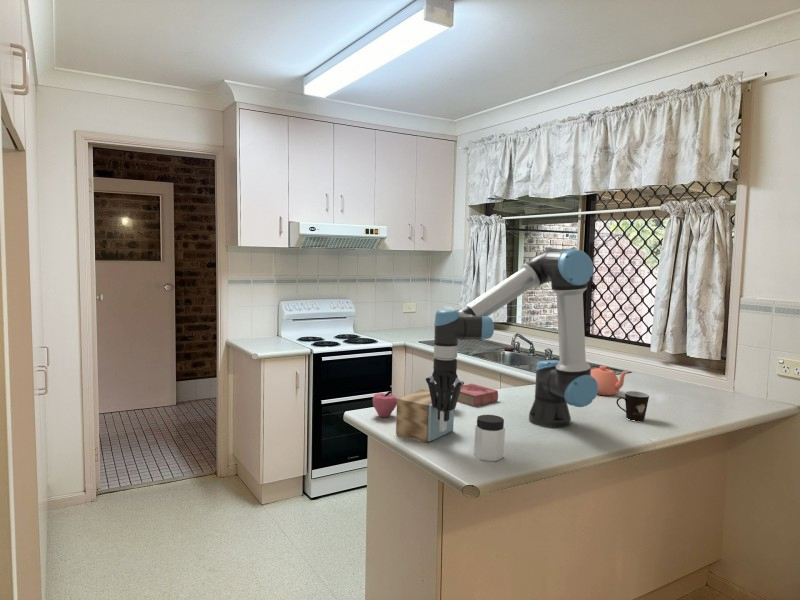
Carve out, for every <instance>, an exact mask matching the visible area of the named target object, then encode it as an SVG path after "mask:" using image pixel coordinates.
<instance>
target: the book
mask: <svg viewBox="0 0 800 600" xmlns="http://www.w3.org/2000/svg"><path fill="white" fill-rule="evenodd" d="M498 399H499V393H498V390H497V389H493V388H489V387H485V386H482V385H478V384H475V383H468V384H464V385H463V386H462V387H461V390H460V393H459V397H458V400H457V403H460V404H464V405H466V406H470V407H473V408H476V407H480V406H484V405H488V404H493V403H496V402H498Z"/></svg>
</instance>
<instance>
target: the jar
mask: <svg viewBox="0 0 800 600" xmlns="http://www.w3.org/2000/svg"><path fill="white" fill-rule="evenodd" d="M504 424H505V419H504V418H503V417H502V416H499V415H494V414H481V415H479V416H477V418H476V425H474V426H475V427H474V428H475V429H474V445H473V446H474V447H473V448H474V451H473V455H474V456H475V457H477V458H478V459H479V460H480V461H487V462H498V461H500V460H502V459H503V458H504V455H505V453H504V452H505V437H506V434H505V433H506V427H504V426H505V425H504Z"/></svg>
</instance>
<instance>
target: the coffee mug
mask: <svg viewBox="0 0 800 600" xmlns="http://www.w3.org/2000/svg"><path fill="white" fill-rule="evenodd" d="M649 398H650V394H649V393H646V392H642V391H635V390H628V391H625V392H624V396H620V397H618V398H617V399H616V405H617V407H618V408H619V409H621V410H622V411H623V412H625V416H626V417H625V419H626V418H628V419H630V420H635V421H643V420H644V421H645V418H646V413H647V409H648V404H649ZM621 399H622V400H624V401H625V403H624V404H625V408H623V407H622V406H621V405H620V404H619V401H620V400H621ZM630 420H629V421H630ZM644 421H643V422H644Z"/></svg>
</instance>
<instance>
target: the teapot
mask: <svg viewBox="0 0 800 600" xmlns="http://www.w3.org/2000/svg"><path fill="white" fill-rule="evenodd" d="M628 373H629V371H623V372H621V373H620V375H619V379H618V376H617V375H616V372H615V371H614V370H612V369H609V368H607V366H606V365H599V367H596V368H595V367H594V368H592V369H591V376H592V377H593V378H594V379H595V380H596V381H597V383H598V393H597V395H598V396H599V395H600V396H605V395H606V396H613V395H617V393H618V392H619V391H620V389H621V388H623V386H624V382H625V376H626V375H627V374H628Z"/></svg>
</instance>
